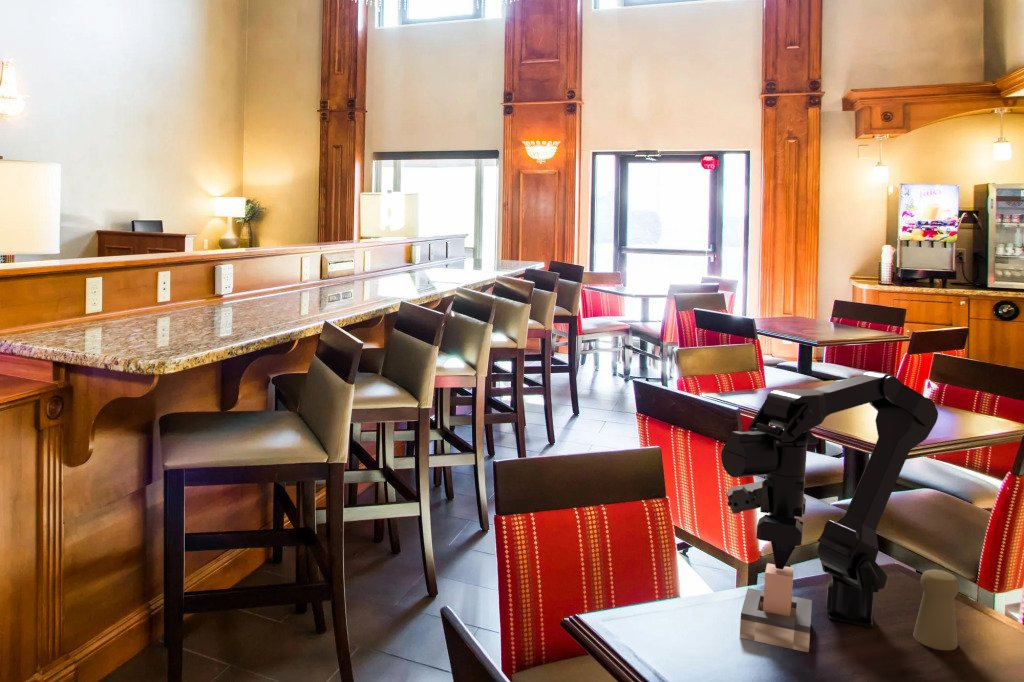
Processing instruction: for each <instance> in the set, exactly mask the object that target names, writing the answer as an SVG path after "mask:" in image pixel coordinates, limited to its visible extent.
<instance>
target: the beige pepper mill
mask: <svg viewBox="0 0 1024 682" xmlns="http://www.w3.org/2000/svg"><path fill="white" fill-rule="evenodd" d="M920 586H921V588H922V590H923V594H922V596H921V597H922V598H921V601H920V605H919V609H918V614H917V617H916V621H915V625H914V630H913V634H912V635H913V636H912V637H913V638H914V640H916V641H917V643H919V644H921V645H924V646H926V647H928V648H931V649H933V650H938V651H939V650H940V651H954V650H956V649H957V647H958V646H959V645H958V635H957V634H958V633H957V620H956V617H957V616H956V605H955V604H956V603H955V597H956V596H957V595H958V593H959V591H960V582H959V580H958V579H957V577H956V576H955V575H954V574H952V573H950V572H948V571H946V570H945V571H944V570H940V569H927V570H925V571H924V572H922V574H921V577H920Z"/></svg>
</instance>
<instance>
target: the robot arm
mask: <svg viewBox="0 0 1024 682" xmlns="http://www.w3.org/2000/svg"><path fill="white" fill-rule="evenodd" d="M866 404H869V405H870V406H871V407H872V408H874V410H876V413H877V414H876V417H875V421H874V422H875V426H876V431H877V436H878V438H877V440H876V443H875V445H874V448H873V449H872V453H871V455H870V457H869V459H868V461H867V463H866V465H865V468H864V470H863V473H862V475H861V477H860V479H859V482H858V484H857V487H856V488H855V491H854V493H853V495H852V498H851V500H850V502H849V505H848V506H847V507H848V508H847V509H846V512H845V514H844V516H842V517H841V518H839V519H838V520H836V521H832V520H831V519H828V520H827V521H826V523H825V524H824V527H823V530H822V533H821V535H820V536H819V538H818V539H817V542H818V546H817V550H816V553H817V555H818V557H819V561H820V563H821V567H822V571H823V572H824V573H826V574H829V575H830V576H831V580H829V581H828V582H827V592H826V607H825V609H826V611H828V618H829V619H830V620H834V621H839V622H844V623H850V624H853V625H854V624H855V625H860V626H864V627H869V628H871V627H873V626H874V622H873V608H874V593H879V591H880V590H882V589H884V588H885V585H886V583H887V581H888V575H887V574H886V572H885V571H884V570H883V569H882V567H881V566H880V565H879V564H878V563H877V561H876V560H877V557H878V555H879V551H880V547H879V541H878V536H877V528H878V525H879V523H880V522H881V518H882V516H883V514H884V512H885V509H886V506H887V504H888V502H889V499H890V497H891V495H892V493H893V491H894V488H895V485H896V484H897V481H898V479H899V476H900V474H901V472H902V470H903V467H904V465H905V463H906V460H907V459H908V456H909V453H910V451H911V450H913V449H914V448H916V447H917V446H918V445H919V444H921V443H922V442H924V441H925V440H927V438H928V437H929V435H930V434H931V432H932V430H933V429H934V427H935V425H936V424H937V422H938V419H939V411H938V409H937V406H936V404H935V403H934V401H933V400H932V399H931V398H929V397H926V396H924V395H923V394H921V393H919V392H918V391H916V390H915V389H913V388H911V387H909V386H908V385H906V384H904V383H903V382H902V381H901V380H899V378H897V377H896V376H895V375H894V374H891V373H887V372H886V373H885V372H879V371H873V370H871V371H870V370H869V371H866V372H864V373H863V374H860V375H857V376H853V377H850V378H848V379H843V380H840V381H836V382H833V383H829V384H828V383H827V384H826V385H823V386H818V387H815V388H805V389H804V388H784V389H783V388H782V389H774V390H773V391H770V392H769V393H767V395H766V399H765V400H764V402H763V404H762V405H761V407H760V408H759V410H758V412H757V413H756V415H755V416H754V417H753V419H752V420H751V422H750V423H749V425H748V426H747V431H739V430H738V431H737V430H736V431H732V432H731V438H730V439H729V440H727V441H725V443H724V445H723V448H722V450H721V452H720V454H721V455H720V457H721V458H720V459H721V463H722V464H721V465H722V467H723V469H724V471H725V472H726V474H727V475H729V476H730V477H731V478H744V477H754V476H763V479H762V481H759V482H752V483H746V484H740V485H737V486H732V487H730V488H728V489H727V491H726V497H727V506H728V507H730V511H731V513H732V514H740V513H742V512H745V511H751V510H755V509H759V508H760V513H763V514H765V515H763V516H761V517H760V518H759V520H758V522H757V525H756V536H755V537H756V539H757V540H760V541H762V542H763V541H764V542H770V545H771V549H772V556H773V559H774V561H773V562H774V565H775V567H776V568H777V569H783V568H784V567H785V566H786V565H787V563H788V561H789V559H790V557H791V556H792V553H793V552H794V550H795V548H796V547H800V546H802V543H803V542H802V541H803V540H802V539H803V531H804V530H803V528H804V522H803V521H801V520H800V519H799V518H803V515H806V507H807V505H806V504H807V503H806V502H807V498H805V484H806V470H807V469H806V467H807V466H806V465H807V452H808V451H807V449H808V445H816V444H819V438H817V437H816V435H814V434H813V432H811V430H812V429H814V428H816V427H818V426H820V425H822V424H823V422H824V421H825V420H826V418H827V417H828V416H831V415H833V414H836V413H839V412H843V411H847V410H849V409H853V408H856V407H859V406H863V405H866Z"/></svg>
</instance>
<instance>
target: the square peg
mask: <svg viewBox="0 0 1024 682" xmlns="http://www.w3.org/2000/svg"><path fill="white" fill-rule="evenodd" d="M794 569H795V568H794V567H791V566H786V565H785V567H784V568H783V569H777V568H776V567H775V563H774V564H773V563H768V562H767V563H766V567H765V572H764V587H763V588H764V589H763V591H764V602H763V611H764V612H769V613H774V614H779V615H784V616H789V617H791V602H792V596H793V582H794V571H795V570H794Z"/></svg>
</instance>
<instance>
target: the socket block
mask: <svg viewBox="0 0 1024 682" xmlns="http://www.w3.org/2000/svg"><path fill="white" fill-rule="evenodd" d="M763 602H764V590H762V589H761V590H760V589H756V588H750V587H747V590H746V594H745V596H744V601H743V604H742V608H741V611H740V622H739V623H740V625H739V638H740V639H745V640H748V641H749V640H750V641H753V642H754V641H755V642H759V643H762V644H767V645H772V646H776V647H781V648H787V649H791V650H795V651H799V652H804V653H805V652H806V653H809V651H810V641H811V639H810V638H811V637H810V636H811V625H812V624H811V621H812V609H813V606H812V605H813V600H812V599H809V598H802V597H799V596H793V595H792V602H791V617H789V616H784V615H779V614H774V613H769V612H764V611H763Z"/></svg>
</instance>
